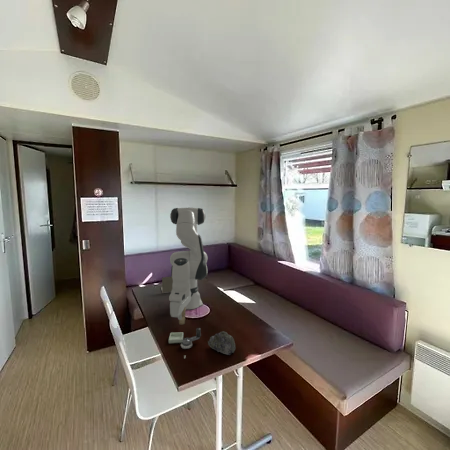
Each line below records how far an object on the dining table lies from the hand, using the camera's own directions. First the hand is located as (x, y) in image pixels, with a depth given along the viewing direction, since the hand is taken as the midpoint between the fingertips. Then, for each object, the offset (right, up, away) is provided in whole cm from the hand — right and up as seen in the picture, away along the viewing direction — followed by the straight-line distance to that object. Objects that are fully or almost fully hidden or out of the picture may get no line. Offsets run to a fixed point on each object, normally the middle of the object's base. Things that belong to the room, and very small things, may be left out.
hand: (181, 316), depth 131 cm
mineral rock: (+21, -16, -1) cm, 26 cm away
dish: (-4, -15, +7) cm, 17 cm away
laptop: (-21, -7, +81) cm, 84 cm away
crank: (+5, -14, +3) cm, 15 cm away
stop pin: (0, -3, 0) cm, 3 cm away
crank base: (+2, -16, -2) cm, 16 cm away
